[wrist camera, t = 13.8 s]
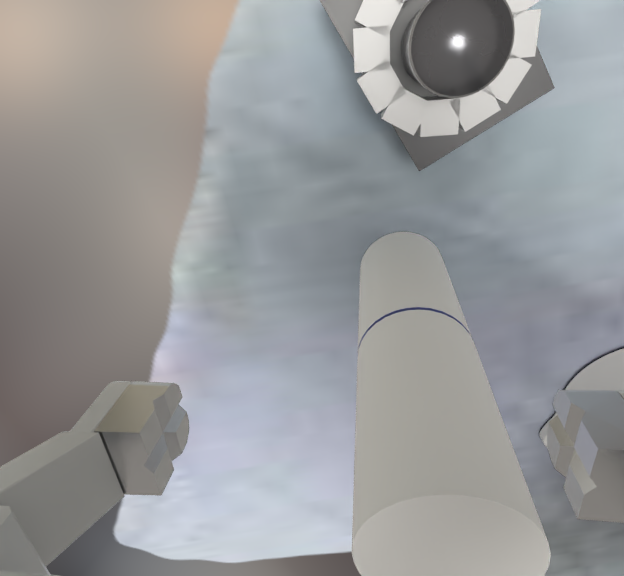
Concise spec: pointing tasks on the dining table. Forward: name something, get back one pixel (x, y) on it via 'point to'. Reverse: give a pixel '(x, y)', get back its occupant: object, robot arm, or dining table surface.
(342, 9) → the camera body
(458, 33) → the lens
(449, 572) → the cylindrical container
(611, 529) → the dining table surface
